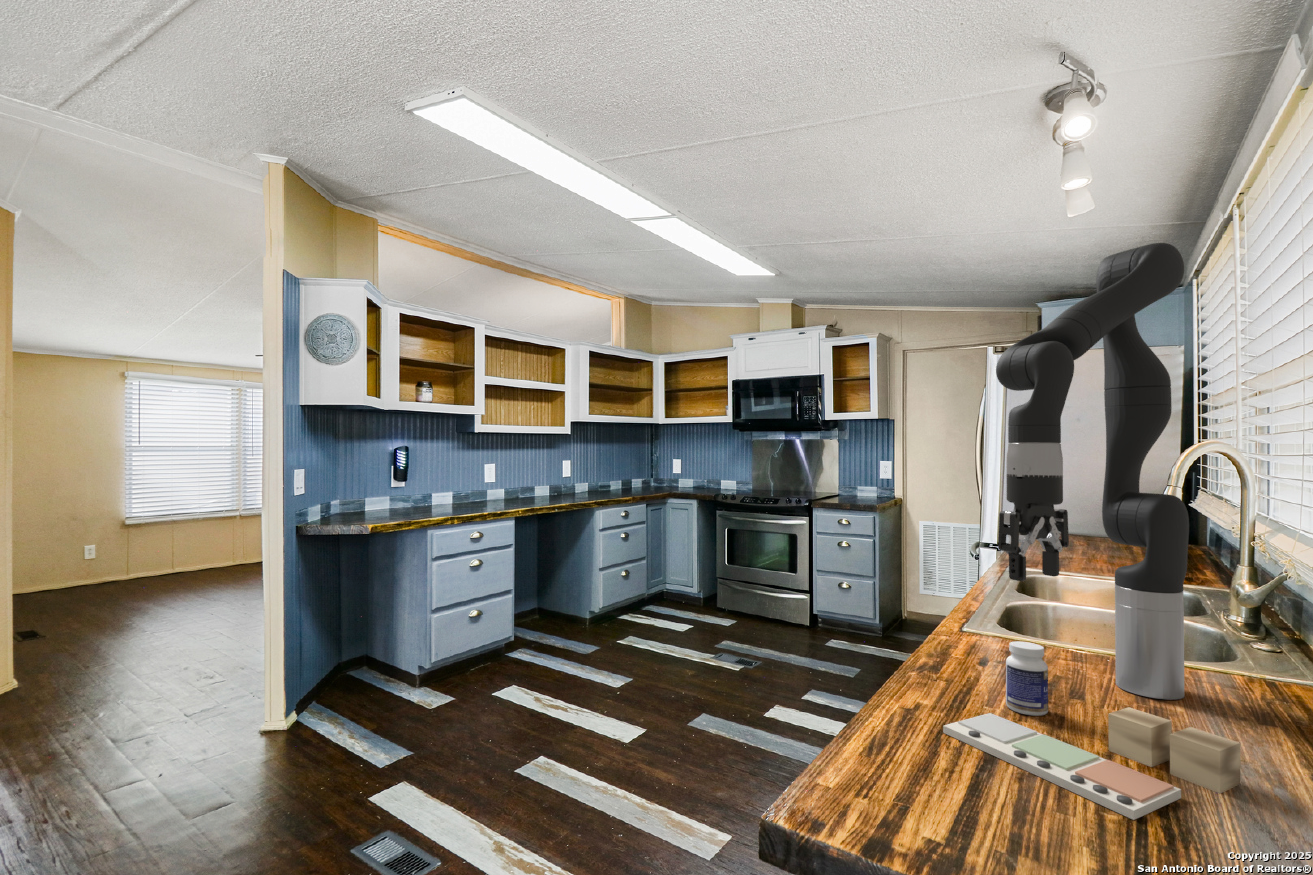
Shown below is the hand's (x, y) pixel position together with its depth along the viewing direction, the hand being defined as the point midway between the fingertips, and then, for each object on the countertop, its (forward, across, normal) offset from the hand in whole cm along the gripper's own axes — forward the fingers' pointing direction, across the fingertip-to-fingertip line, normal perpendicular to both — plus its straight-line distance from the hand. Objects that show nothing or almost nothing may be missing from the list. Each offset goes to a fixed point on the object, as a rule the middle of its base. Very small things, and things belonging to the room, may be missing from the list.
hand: (1034, 577), depth 98 cm
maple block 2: (+21, +1, +22) cm, 30 cm away
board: (+21, +14, +10) cm, 27 cm away
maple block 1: (+21, +1, +15) cm, 25 cm away
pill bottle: (+21, 0, -1) cm, 21 cm away
